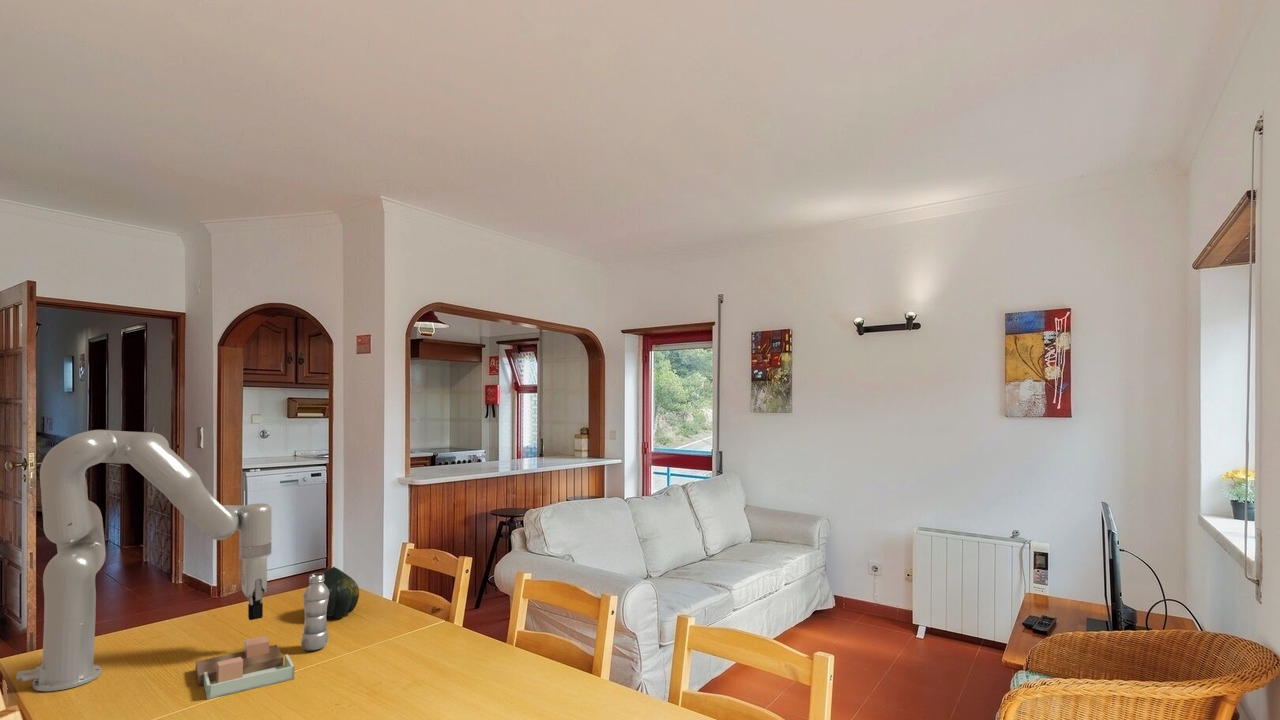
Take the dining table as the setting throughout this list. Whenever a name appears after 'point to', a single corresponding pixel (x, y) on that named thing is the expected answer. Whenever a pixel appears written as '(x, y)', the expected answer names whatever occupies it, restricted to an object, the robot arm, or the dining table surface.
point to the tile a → (229, 669)
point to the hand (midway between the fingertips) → (255, 618)
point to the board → (249, 664)
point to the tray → (250, 680)
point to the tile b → (256, 646)
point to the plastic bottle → (315, 613)
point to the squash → (340, 593)
